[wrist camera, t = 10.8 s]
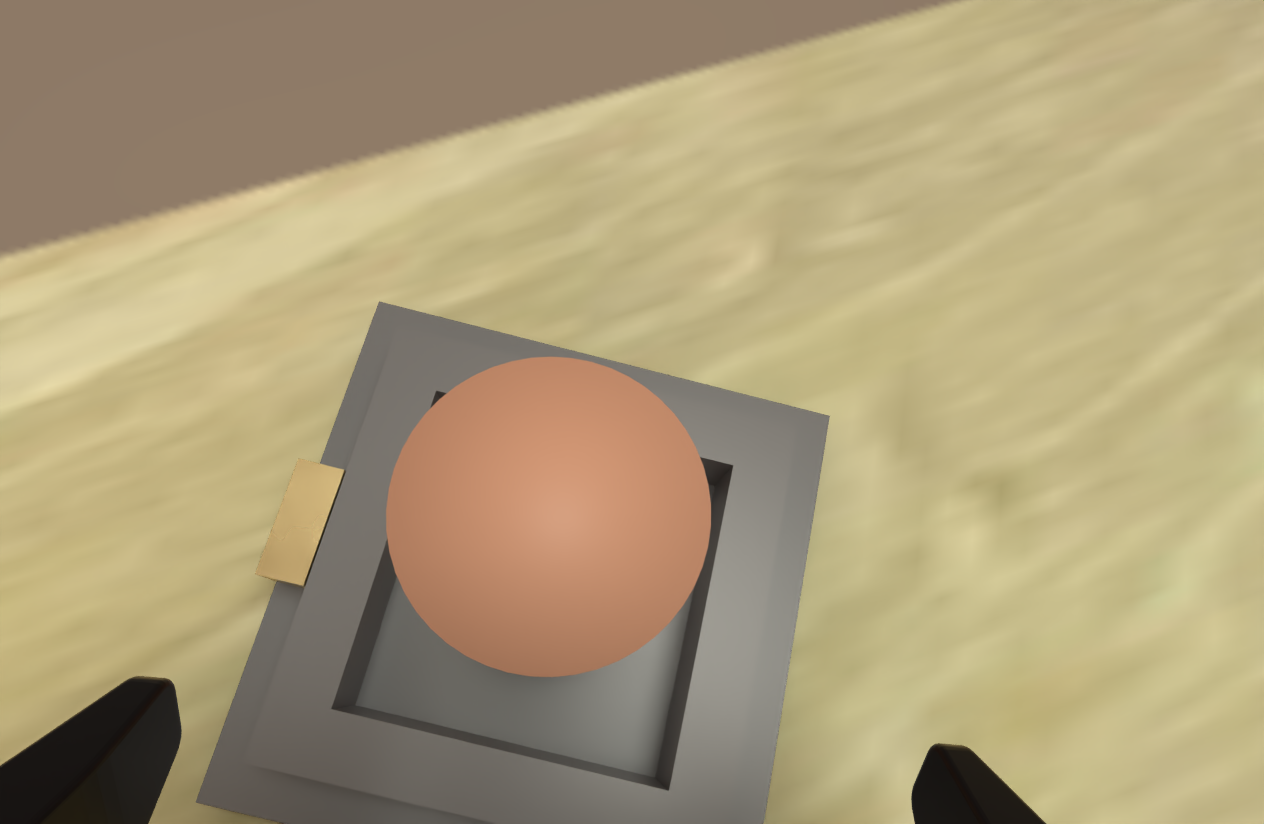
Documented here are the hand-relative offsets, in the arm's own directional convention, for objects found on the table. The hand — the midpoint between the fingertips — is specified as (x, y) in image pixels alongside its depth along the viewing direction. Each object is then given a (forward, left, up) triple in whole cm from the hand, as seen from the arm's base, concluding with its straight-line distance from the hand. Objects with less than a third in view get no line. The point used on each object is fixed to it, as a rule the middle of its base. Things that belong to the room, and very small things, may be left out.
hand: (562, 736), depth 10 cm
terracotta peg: (+1, -3, -13) cm, 13 cm away
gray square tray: (+1, -3, -14) cm, 14 cm away
